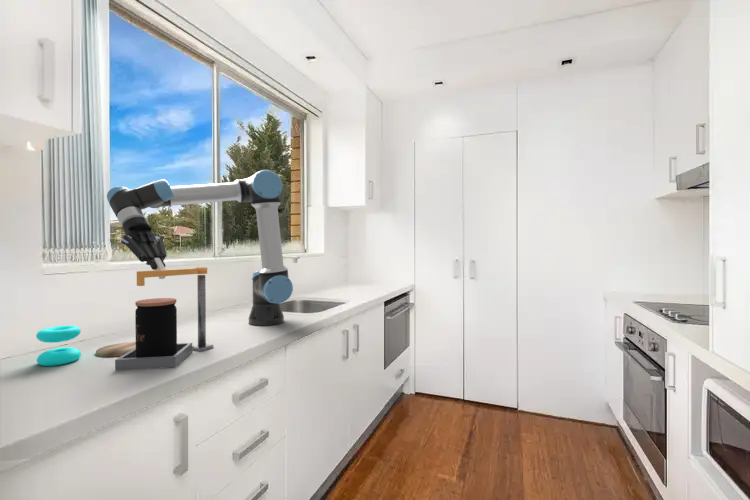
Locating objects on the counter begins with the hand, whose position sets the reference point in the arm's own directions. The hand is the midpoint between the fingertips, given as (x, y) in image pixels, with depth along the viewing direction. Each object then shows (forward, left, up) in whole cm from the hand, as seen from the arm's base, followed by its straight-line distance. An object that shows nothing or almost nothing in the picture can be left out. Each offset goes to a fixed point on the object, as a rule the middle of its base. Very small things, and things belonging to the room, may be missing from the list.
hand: (163, 275), depth 117 cm
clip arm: (-4, +1, -2) cm, 4 cm away
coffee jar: (0, +6, -25) cm, 26 cm away
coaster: (+15, -8, -25) cm, 30 cm away
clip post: (-10, -6, -25) cm, 27 cm away
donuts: (+28, +2, -25) cm, 38 cm away
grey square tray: (0, +6, -25) cm, 26 cm away
